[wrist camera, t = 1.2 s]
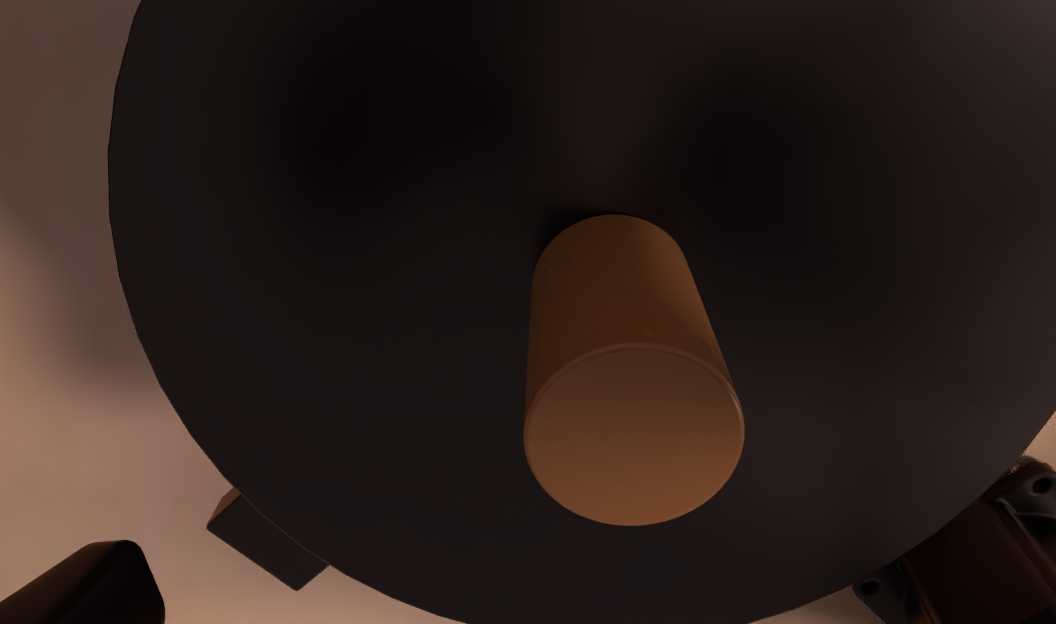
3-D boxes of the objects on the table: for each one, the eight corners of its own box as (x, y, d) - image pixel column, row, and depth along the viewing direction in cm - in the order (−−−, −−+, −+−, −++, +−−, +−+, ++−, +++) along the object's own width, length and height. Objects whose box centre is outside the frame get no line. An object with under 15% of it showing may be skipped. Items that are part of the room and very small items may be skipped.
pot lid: (1271, 273, 13) (1657, 467, 8) (580, 704, 18) (590, 971, 14) (660, -683, 9) (785, -1370, 4) (-37, 246, 14) (-338, 417, 9)
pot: (1133, 79, 18) (1445, 170, 12) (509, 542, 24) (494, 761, 18) (735, -536, 14) (887, -916, 7) (107, 221, 20) (-96, 362, 14)
